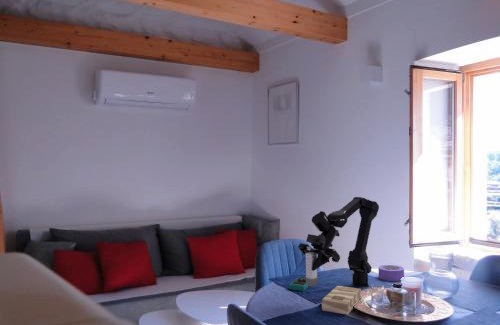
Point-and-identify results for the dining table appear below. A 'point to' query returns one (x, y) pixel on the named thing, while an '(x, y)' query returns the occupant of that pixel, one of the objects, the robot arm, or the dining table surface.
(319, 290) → the dining table surface
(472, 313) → the dining table surface
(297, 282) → the digital multimeter
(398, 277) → the tape roll
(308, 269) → the square bit
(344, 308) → the socket block
